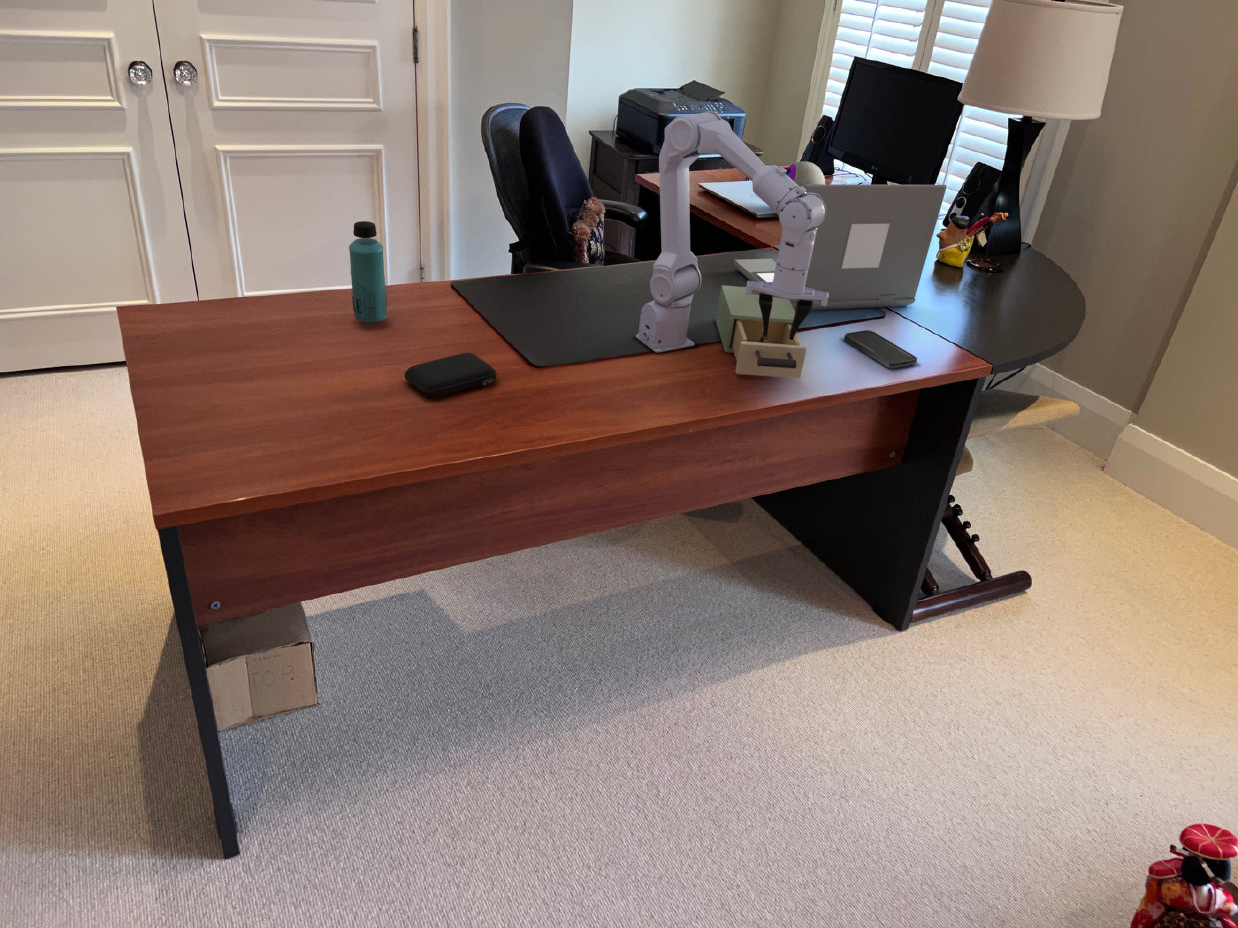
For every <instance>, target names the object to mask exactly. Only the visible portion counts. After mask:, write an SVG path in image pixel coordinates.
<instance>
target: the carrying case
mask: <svg viewBox="0 0 1238 928" xmlns="http://www.w3.org/2000/svg"><path fill="white" fill-rule="evenodd" d="M497 375H498V374H497V371H496V370H495V368H494V367H493V366H492V365H490V364H488V363H487V362H486V361H485V360H483V359H482V358H481V357H479V356H478V355H476V354H475V353H473V352H463V353H459V354H454V355H450V356H449V355H448V356H446V357H442V358H438V359H433V360H429V361H426V362H422V363H418V364H414V365H411V366H410V367H408V368H407V369H406V371H404V378H405V379H404V380H406V381H407V382H409V384H411V385H412V386H414V388H416V389H417V390H418V391H419V392H420V393H421V394H423V395H424V396H426V397H427V398H429V399H430V398H431V399H435V398H439V397H444V396H447V395H451V394H455V393H459V392H463V391H466V390H469V389H474V388H476V387H483V388H484V387H485V386H487V385H489V384H491V383H493V382H494V381H495V380H496V378H497Z"/></svg>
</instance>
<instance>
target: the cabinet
mask: <svg viewBox="0 0 1238 928" xmlns="http://www.w3.org/2000/svg"><path fill="white" fill-rule="evenodd" d="M746 287H747V286H735V285H724V284H723V285H721V287H720V291H719V292H720V293H719V297H718V298H719V299H718V304H717V310H716V316H715V322H716V323H715V324H716V326H717V330H718V333H719V337H720V340H721V344H722V347H723V351H724V353H731V354H734V351H733V348H732V345H731V336H732V331H733V325H734V319H743V320H756V321H763V317H762V313H761V309H760V305H759V295H755V294H752V295H746ZM794 315H795V311H794V309H793V307H792V304H791V302H790V300H789V299H782V298H775V297H773V302H772V309H771V313H770V318H769V322H783V323H791V325H792V323H793V319H794ZM797 333H798V331H797V332H796V334H797Z"/></svg>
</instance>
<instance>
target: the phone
mask: <svg viewBox="0 0 1238 928" xmlns="http://www.w3.org/2000/svg"><path fill="white" fill-rule="evenodd" d="M843 341H844V342H846V343H848V344H849V345H851V346H852V347H854V348H855V349H856V350H858V351H860V352H862V353H864V354H865V355H866V356H868V357H870V358H871V359H873V360H875V361H876V362H878V363H879V364H881V365H883V366H884V367H886V368H888V369H892V370H893V369H900V368H905V367H911V366H915V365H916V364H917V361H918V357H917V356H915V355H914V354H912V353H911V352H909V351H907V350H905V349H904V348H902V347H900V346H899V345H897V344H896V343H893V342H892V341H890V340H889V339H887V338H885V337H884V336H882V335H880V334H879V333H877V332H875V331H873V330H870V329H864V330H858V331H853V332H846V333H844V337H843Z"/></svg>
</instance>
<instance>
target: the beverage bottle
mask: <svg viewBox="0 0 1238 928" xmlns="http://www.w3.org/2000/svg"><path fill="white" fill-rule="evenodd" d="M352 232H353V236H354V237H357V238H355V240H353V241H352V242H351V243H350V244H349V245H348V250H349V259H350V260H349V261H350V264H349V265H350V272H349V274H350V277H351V278H350V279H351V294H352V295H351V300H352V303H351V304H352V311H353V315H354V318H355V320H358V321H359V322H364V323H378V322H382V321H383V320H385V319H386V318H387V315H388V301H387V300H388V298H387V290H386V288H387V283H386V277H385V264H384V263H385V262H384V245H383V244H382V243H381V242H380V241H379V240H377V239H375V238H374V237H376V236H377V226H376V224H375V222H372V221H368V220H362V221H356V222H355V223H353V231H352Z"/></svg>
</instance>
